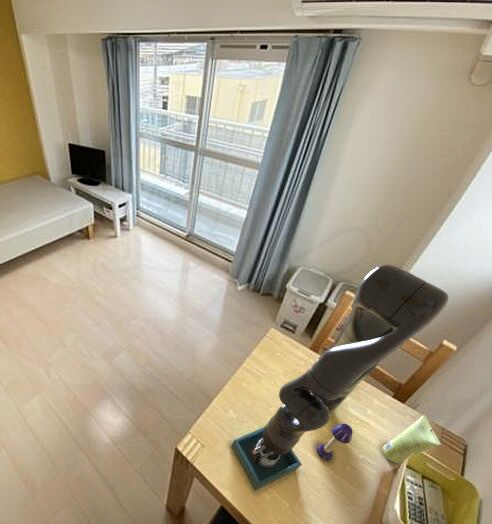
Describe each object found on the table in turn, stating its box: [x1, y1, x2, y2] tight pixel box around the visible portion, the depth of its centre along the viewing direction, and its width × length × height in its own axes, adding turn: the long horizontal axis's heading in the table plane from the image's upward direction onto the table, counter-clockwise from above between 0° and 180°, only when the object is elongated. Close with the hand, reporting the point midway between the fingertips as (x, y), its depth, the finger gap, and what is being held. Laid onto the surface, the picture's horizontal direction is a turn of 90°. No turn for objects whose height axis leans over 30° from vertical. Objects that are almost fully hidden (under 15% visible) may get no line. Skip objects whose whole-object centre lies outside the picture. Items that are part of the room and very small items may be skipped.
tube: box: [382, 414, 442, 464], centre depth 85 cm, size 6×5×20 cm
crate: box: [230, 425, 303, 492], centre depth 88 cm, size 15×12×5 cm
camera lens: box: [256, 438, 280, 468], centre depth 87 cm, size 6×6×8 cm
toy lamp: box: [316, 422, 354, 461], centre depth 86 cm, size 5×5×17 cm
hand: (265, 455), depth 88 cm, fingers closed on camera lens, 6 cm apart
